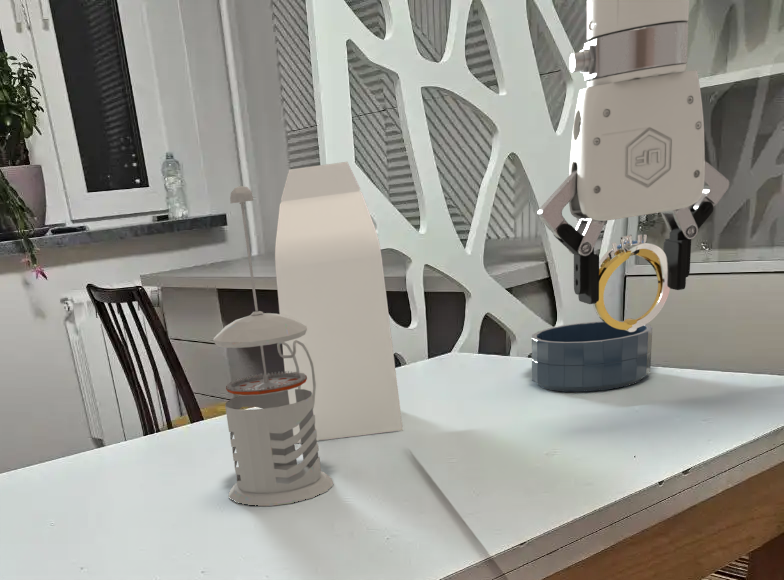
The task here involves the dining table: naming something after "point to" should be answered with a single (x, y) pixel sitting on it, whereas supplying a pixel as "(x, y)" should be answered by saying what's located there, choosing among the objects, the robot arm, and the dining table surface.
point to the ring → (609, 266)
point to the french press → (271, 411)
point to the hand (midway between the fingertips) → (631, 293)
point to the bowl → (590, 357)
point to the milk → (336, 302)
